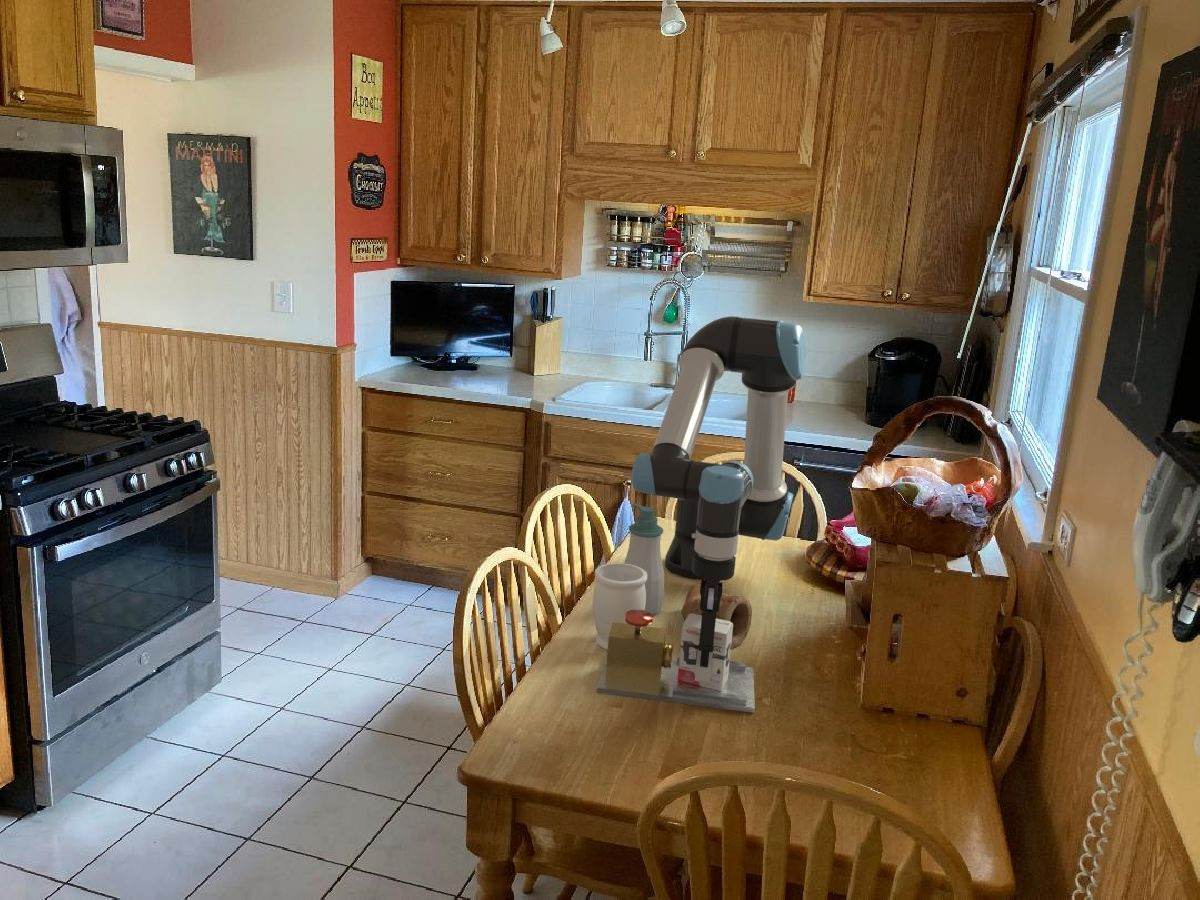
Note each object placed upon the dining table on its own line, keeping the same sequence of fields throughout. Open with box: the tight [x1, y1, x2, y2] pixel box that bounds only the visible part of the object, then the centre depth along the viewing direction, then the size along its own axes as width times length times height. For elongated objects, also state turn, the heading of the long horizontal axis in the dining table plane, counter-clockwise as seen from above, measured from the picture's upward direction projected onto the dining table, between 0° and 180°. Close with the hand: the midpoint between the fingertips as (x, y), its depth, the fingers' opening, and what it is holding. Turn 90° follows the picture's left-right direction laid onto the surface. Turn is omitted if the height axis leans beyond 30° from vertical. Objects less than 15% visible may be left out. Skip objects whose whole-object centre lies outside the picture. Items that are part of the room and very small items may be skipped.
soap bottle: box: [623, 503, 665, 617], centre depth 201 cm, size 10×10×23 cm
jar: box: [592, 562, 648, 651], centre depth 186 cm, size 11×10×15 cm
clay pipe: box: [681, 582, 753, 648], centre depth 195 cm, size 19×11×15 cm
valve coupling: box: [596, 610, 756, 714], centre depth 173 cm, size 15×28×12 cm, turn 82°
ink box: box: [678, 614, 733, 691], centre depth 172 cm, size 8×5×12 cm, turn 69°
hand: (703, 670), depth 173 cm, fingers open, 7 cm apart
